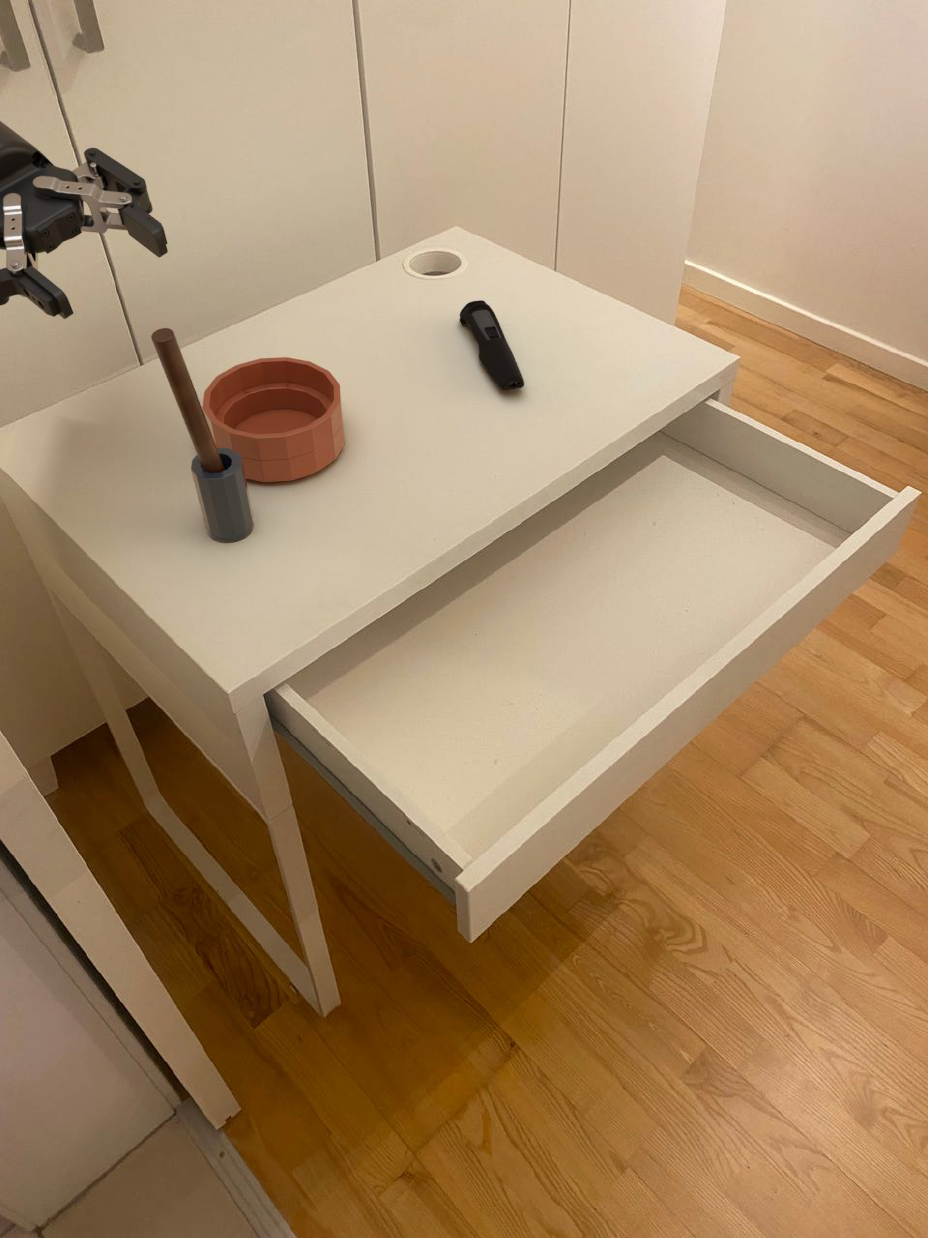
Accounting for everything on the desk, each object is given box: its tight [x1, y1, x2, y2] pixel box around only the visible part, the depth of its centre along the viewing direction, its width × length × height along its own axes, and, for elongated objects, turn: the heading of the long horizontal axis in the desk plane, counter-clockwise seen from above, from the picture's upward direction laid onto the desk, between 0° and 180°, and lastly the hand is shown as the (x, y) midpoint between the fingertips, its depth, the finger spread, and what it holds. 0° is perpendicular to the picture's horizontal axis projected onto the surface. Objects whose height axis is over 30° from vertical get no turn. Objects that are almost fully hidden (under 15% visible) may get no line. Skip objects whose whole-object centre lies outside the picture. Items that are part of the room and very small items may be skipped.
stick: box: [150, 327, 225, 473], centre depth 75 cm, size 2×2×19 cm
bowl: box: [201, 356, 346, 483], centre depth 88 cm, size 12×12×6 cm
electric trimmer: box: [459, 299, 525, 391], centre depth 99 cm, size 4×16×3 cm, turn 14°
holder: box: [190, 448, 255, 543], centre depth 80 cm, size 4×4×7 cm
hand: (115, 275), depth 68 cm, fingers open, 8 cm apart
